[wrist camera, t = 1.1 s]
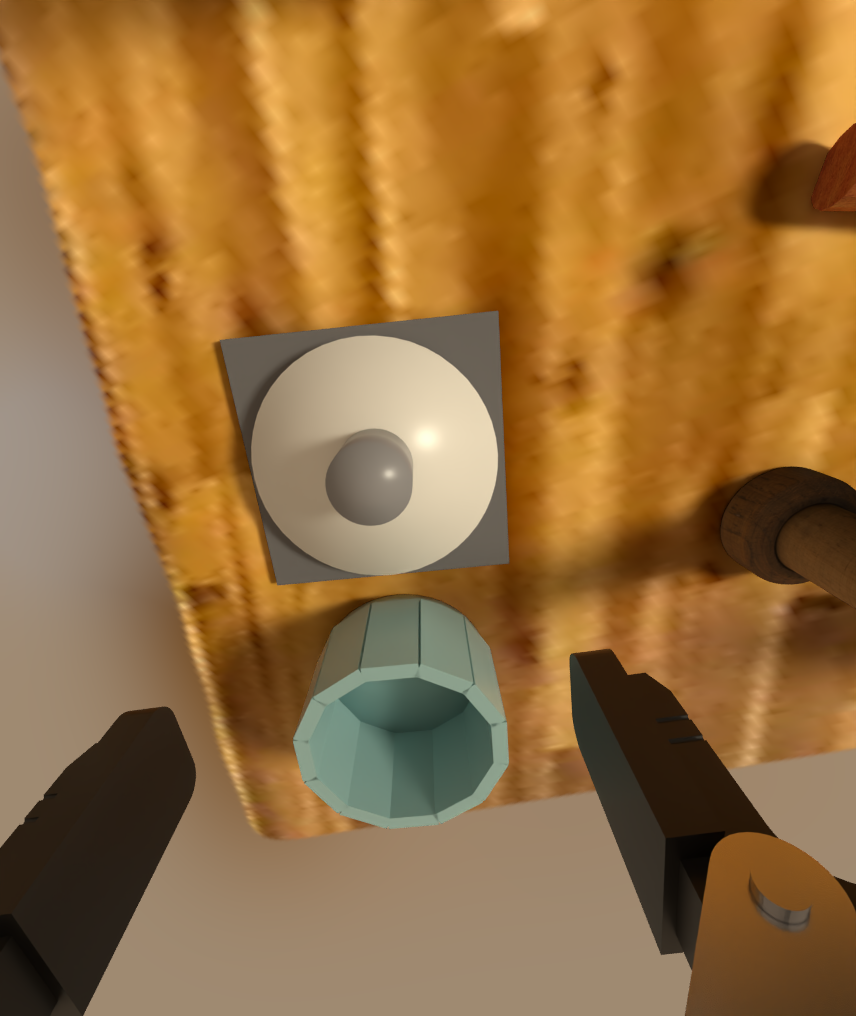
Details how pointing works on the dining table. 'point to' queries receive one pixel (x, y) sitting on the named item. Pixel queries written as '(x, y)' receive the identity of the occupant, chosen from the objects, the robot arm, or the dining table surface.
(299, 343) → the mat
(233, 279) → the dining table surface
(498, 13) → the dining table surface
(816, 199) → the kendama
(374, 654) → the cup
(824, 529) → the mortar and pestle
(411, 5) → the dining table surface
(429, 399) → the lid
